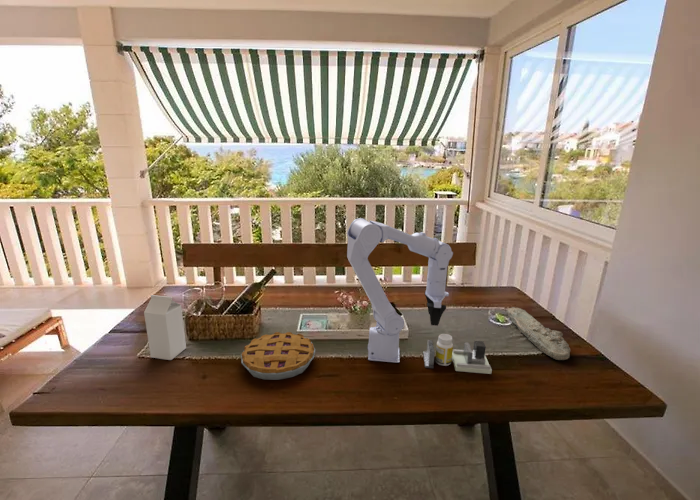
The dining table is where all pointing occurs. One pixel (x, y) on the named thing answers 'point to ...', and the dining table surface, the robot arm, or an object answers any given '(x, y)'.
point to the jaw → (429, 355)
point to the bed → (463, 366)
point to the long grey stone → (540, 334)
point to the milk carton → (164, 327)
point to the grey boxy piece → (475, 353)
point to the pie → (278, 355)
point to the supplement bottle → (444, 350)
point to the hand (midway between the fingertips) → (433, 319)
